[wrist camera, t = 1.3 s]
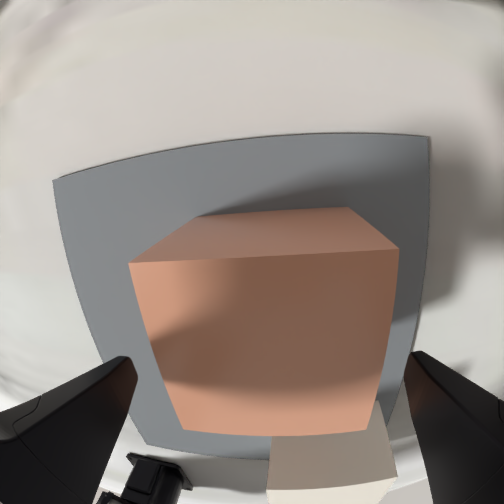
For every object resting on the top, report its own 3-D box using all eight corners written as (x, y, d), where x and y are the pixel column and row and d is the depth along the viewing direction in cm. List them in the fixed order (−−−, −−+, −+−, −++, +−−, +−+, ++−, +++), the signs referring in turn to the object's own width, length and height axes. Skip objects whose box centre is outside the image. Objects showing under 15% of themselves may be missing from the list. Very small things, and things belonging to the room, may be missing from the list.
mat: (375, 448, 18) (375, 451, 18) (148, 441, 21) (146, 444, 21) (423, 137, 11) (427, 137, 11) (56, 179, 14) (52, 180, 14)
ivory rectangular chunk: (361, 451, 18) (369, 513, 12) (277, 457, 19) (271, 521, 13) (378, 400, 16) (397, 476, 10) (274, 408, 17) (265, 489, 11)
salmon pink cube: (344, 337, 15) (366, 429, 9) (216, 341, 16) (183, 429, 10) (347, 206, 13) (399, 248, 6) (196, 216, 14) (128, 263, 7)
